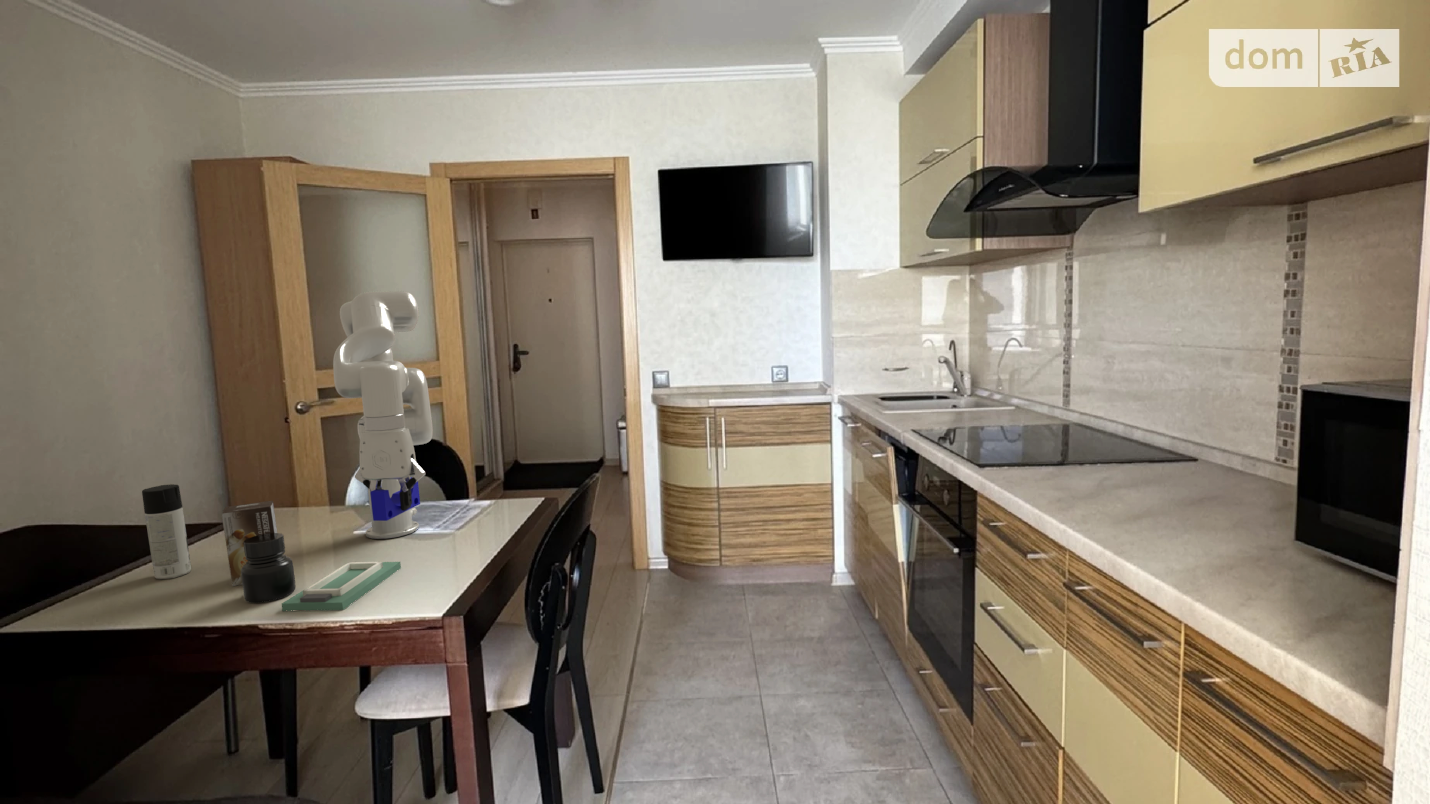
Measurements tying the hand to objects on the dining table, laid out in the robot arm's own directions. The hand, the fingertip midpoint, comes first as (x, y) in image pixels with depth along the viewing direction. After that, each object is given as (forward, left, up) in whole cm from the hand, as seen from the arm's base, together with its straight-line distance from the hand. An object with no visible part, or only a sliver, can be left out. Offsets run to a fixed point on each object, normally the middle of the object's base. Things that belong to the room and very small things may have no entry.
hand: (393, 508), depth 147 cm
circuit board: (+5, -9, -15) cm, 18 cm away
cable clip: (0, 0, -1) cm, 1 cm away
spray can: (-5, -55, -15) cm, 57 cm away
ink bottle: (+8, -23, -15) cm, 29 cm away
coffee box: (-2, -33, -15) cm, 36 cm away
